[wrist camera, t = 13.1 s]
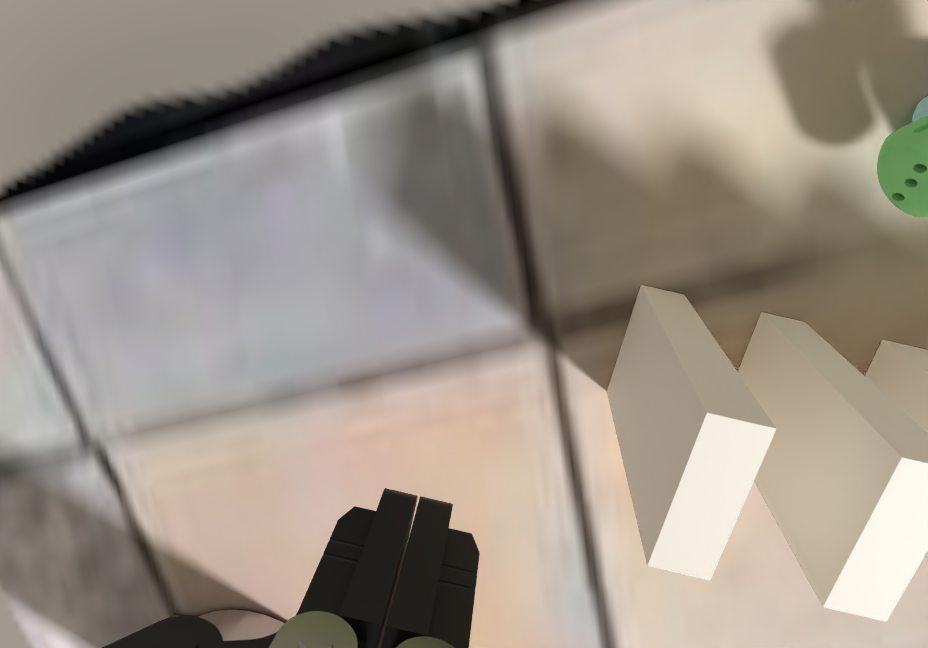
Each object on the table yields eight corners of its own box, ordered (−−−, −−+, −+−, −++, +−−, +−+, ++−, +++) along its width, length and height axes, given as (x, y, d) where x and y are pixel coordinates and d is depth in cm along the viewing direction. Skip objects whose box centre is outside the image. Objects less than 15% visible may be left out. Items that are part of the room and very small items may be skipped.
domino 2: (719, 417, 29) (823, 606, 19) (761, 311, 27) (901, 457, 17) (760, 426, 29) (886, 621, 19) (804, 321, 27) (972, 473, 17)
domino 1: (606, 391, 29) (647, 565, 19) (640, 284, 27) (706, 412, 17) (647, 400, 29) (710, 580, 19) (684, 294, 27) (776, 429, 17)
